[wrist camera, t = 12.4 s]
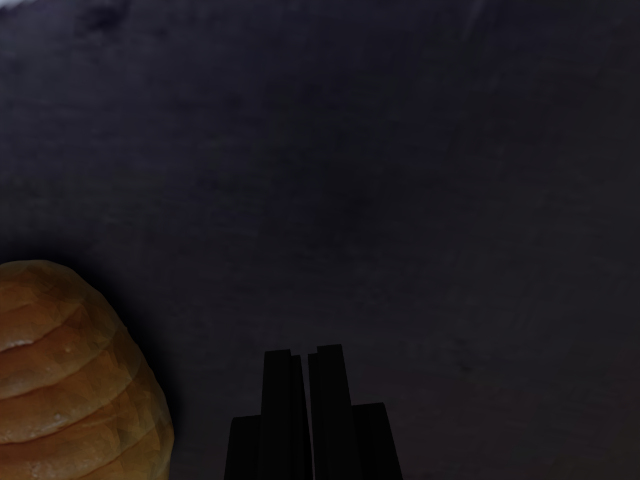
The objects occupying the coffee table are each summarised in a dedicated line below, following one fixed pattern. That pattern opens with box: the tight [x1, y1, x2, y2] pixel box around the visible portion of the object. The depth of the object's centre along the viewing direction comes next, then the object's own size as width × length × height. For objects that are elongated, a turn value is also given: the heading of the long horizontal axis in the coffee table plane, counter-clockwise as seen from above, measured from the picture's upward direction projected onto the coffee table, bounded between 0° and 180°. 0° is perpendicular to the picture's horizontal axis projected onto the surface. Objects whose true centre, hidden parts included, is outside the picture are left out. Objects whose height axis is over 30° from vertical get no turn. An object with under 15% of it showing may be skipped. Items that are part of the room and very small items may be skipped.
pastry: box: [0, 260, 174, 480], centre depth 15 cm, size 9×7×4 cm
